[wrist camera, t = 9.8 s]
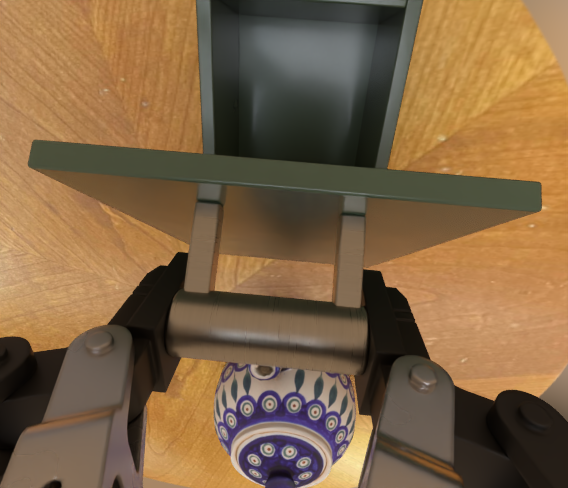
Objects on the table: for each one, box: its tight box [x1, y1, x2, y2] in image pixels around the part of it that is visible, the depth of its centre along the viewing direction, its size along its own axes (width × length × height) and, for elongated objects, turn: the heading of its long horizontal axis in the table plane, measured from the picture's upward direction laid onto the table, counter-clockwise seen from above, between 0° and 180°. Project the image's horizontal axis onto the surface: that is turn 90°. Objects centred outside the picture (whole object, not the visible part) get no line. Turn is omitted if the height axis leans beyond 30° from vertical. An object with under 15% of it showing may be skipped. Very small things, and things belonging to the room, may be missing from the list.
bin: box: [196, 0, 423, 169], centre depth 24 cm, size 16×12×9 cm
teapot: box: [214, 362, 356, 488], centre depth 35 cm, size 25×15×15 cm, turn 5°
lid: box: [28, 140, 542, 376], centre depth 15 cm, size 16×12×5 cm
